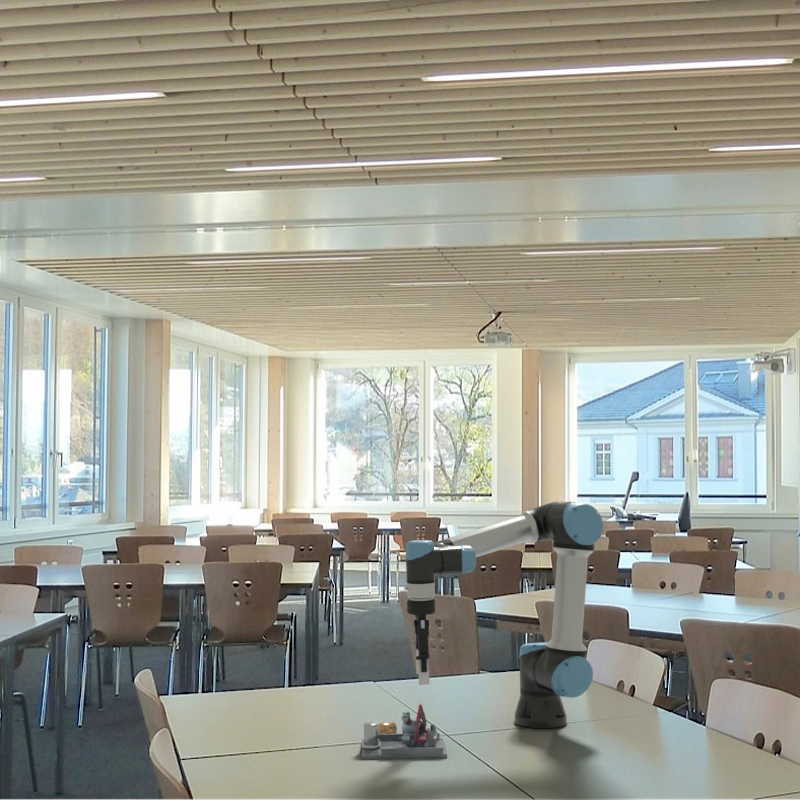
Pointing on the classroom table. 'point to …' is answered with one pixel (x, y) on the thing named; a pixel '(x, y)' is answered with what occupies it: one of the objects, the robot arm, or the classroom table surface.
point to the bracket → (395, 746)
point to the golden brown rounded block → (387, 728)
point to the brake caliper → (418, 730)
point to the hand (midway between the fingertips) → (422, 679)
